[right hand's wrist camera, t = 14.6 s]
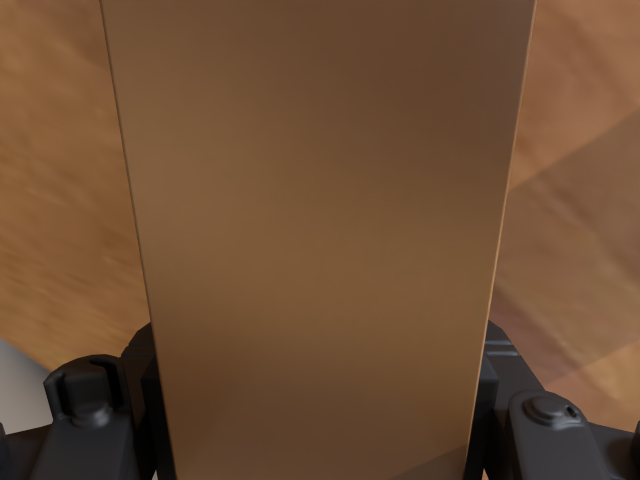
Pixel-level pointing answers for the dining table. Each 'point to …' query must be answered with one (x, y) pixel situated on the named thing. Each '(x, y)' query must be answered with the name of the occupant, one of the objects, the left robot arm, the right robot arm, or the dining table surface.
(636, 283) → the dining table surface
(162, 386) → the post
